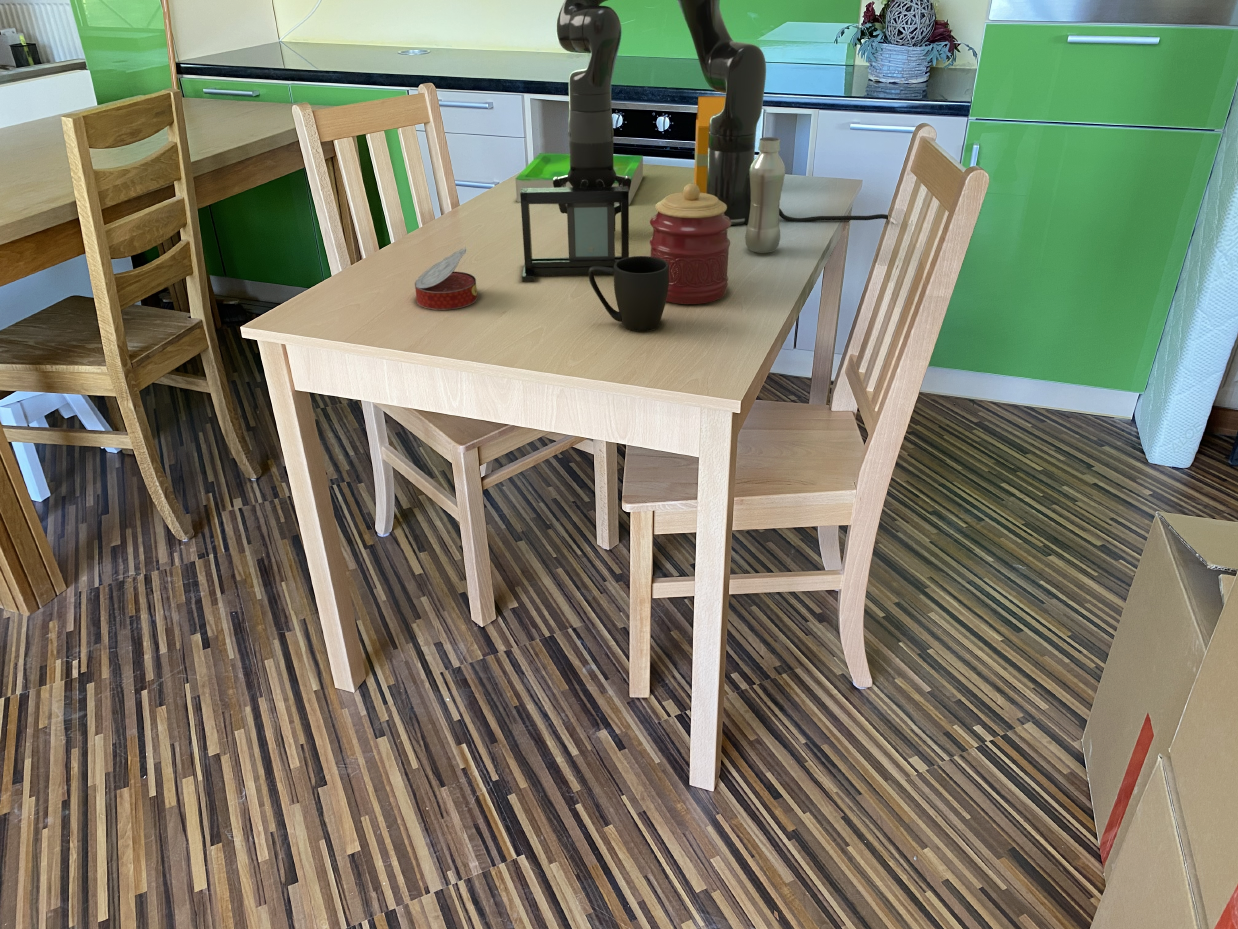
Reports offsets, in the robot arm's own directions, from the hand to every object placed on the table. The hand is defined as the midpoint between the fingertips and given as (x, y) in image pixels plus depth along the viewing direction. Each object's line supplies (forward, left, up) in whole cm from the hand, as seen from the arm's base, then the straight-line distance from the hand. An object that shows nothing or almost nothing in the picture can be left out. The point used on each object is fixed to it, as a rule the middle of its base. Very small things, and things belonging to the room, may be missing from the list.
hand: (593, 235), depth 162 cm
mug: (-10, +29, -5) cm, 31 cm away
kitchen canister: (-18, +14, -5) cm, 23 cm away
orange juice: (-19, -53, -5) cm, 57 cm away
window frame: (+2, +7, -5) cm, 8 cm away
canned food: (+21, +22, -5) cm, 31 cm away
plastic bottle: (-30, -9, -5) cm, 32 cm away
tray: (+11, -50, -5) cm, 52 cm away
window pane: (0, +3, -3) cm, 4 cm away
